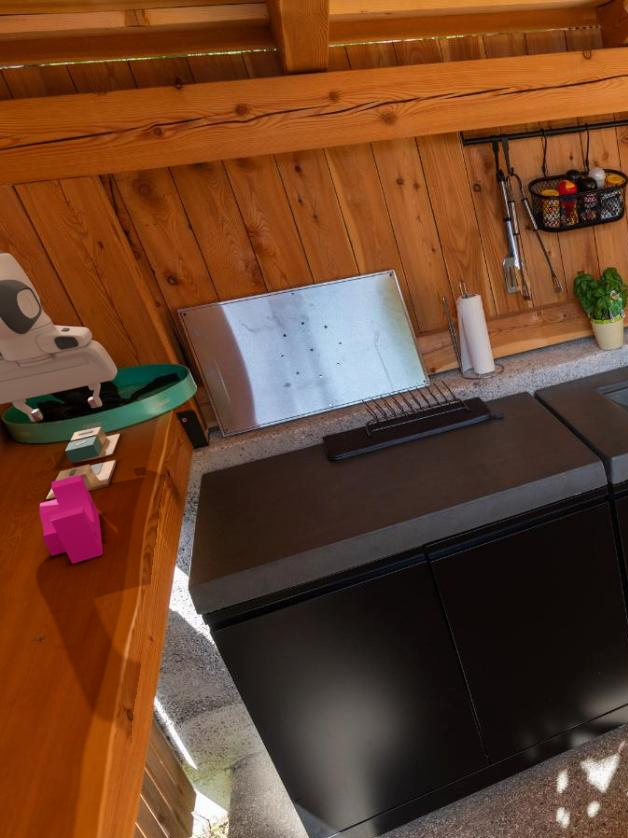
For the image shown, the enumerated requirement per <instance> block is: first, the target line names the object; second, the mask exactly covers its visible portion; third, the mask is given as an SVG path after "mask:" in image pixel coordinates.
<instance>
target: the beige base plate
mask: <svg viewBox="0 0 628 838" xmlns="http://www.w3.org/2000/svg"><path fill="white" fill-rule="evenodd" d="M116 465H117V460H116V459H114V460H109V461H105V462H99V463H96V464H92V465H91V464H85V465H80V466H77V467H72V468H68V469H64V470H60V471H59V473H58V475H57V477H56V478H55V480H54V481H58V480H62V479H66V478H70V477H74V476H78V475H81V476H82V479H83V481H84V483H85V485H86V487H87V489H88V492H91V491H94V490H99V489H103V488H106V487H109V485H110V482H111V479H112V476H113V474H114V471H115V467H116ZM53 499H56V498H55V495H54V493H53V491H52V487H50V490H49V491H48V494H47V496H46V498H45V500H47V501H48V500H53Z"/></svg>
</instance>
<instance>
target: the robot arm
mask: <svg viewBox="0 0 628 838" xmlns="http://www.w3.org/2000/svg"><path fill="white" fill-rule="evenodd" d="M92 338H93V334H92V331H91V330H90V328H88V327H85V326H69V325H58V324H57V325H56V324H54V322H53V320H52V319H51V317H50V316H49V315H48V314H47V313H46V312H45V311H44V308H43V307H42V305H41V298H40V296H39V294H38V292H37V290H36V288H35V287H34V285H33V283H32V281H31V280H30V278H29V276H28V275H27V273H26V272H25V270H24V268H23V267H22V266H21V265H20V263H19V262H18V261H17V259H16V258H15V257H14V256H13V255H12V254H11V253H8V252H5V251H0V405H4V404H9V403H12V405H13V407H14V408H16V409H17V410H19V411H21V412H22V413H24V414H25V415H27V416H28V418H29V419H30V421H31V423H32V422H33V423H34V422H37V421H42V420H43V419H44V416H43V414H42V413H41V410H40V408H35V409H34V408H32V407H30V405H27V404H26V402H27V400H26V399H31V398H37V397H40V396H46V395H50V394H55V393H60V392H63V391H69V390H73V389H77V388H81V387H82V388H83V387H87V388H88V389H89V390H90V391H93V394H92V396H90V397H88V399H87V403H88V404H89V405H90V408H91V409H95V408H100V407H102V406H103V402H102V400H101V397H100V390H101V386H102V385H101V383H106V382H110V381H113V380H114V379H115V378H116V376H117V374H118V368H117V366H116V363H115V362H114V360H113V358H112V357H111V355H110V354H109V353H108V351H107V349H105V347H104V346H103V345H102V344H101V343H100V342H99V341H97V340H93V339H92Z"/></svg>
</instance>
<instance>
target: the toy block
mask: <svg viewBox="0 0 628 838" xmlns="http://www.w3.org/2000/svg"><path fill="white" fill-rule="evenodd" d="M51 488H52V491H53V493H54V495H55V498H54V499H50V500H49V501H48V500H47V501H44V502H40V503H39V516H40V520H41V523H42V528H43V535H42V536H41V538H42V540H43V542H44V544H45V546H46V548H47V549H48V551H49V553H50V556H52V557H53V556H56V555H60V554H63V553H66V554H67V556H68V558H69V560H70V562H71V564H76V563H79V562H83V561H86V560H90V559H93V558H97V557H101V556H103V555H104V551H103V542H102V540H103V539H102V532H101V523H100V514H99V511H98V509H97V507H96V504H95V503H94V500H93V498H92V496H91V494H90V491H88V489H87V487H86V485H85V483H84V481H83V479H82V476H81V475H78V476H74V477H70V478H66V479H62V480H58V481H55V480H53V481H51Z"/></svg>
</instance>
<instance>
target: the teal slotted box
mask: <svg viewBox="0 0 628 838" xmlns="http://www.w3.org/2000/svg"><path fill="white" fill-rule="evenodd" d="M101 449H102V446H101V444H100V442H99V440H98V438H97V436H95V437H91V438H87V439H82V440H78V441H74V442H71V441H69V442H68V443H67V446H66V448H65V450H64V452H65V454H66V456H67V458H68V460H69V462H70V463H74V462H75V463H77V462H76V461H80V460H84V459H88V458H92V457H96V456H99V454H100V452H101Z"/></svg>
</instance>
